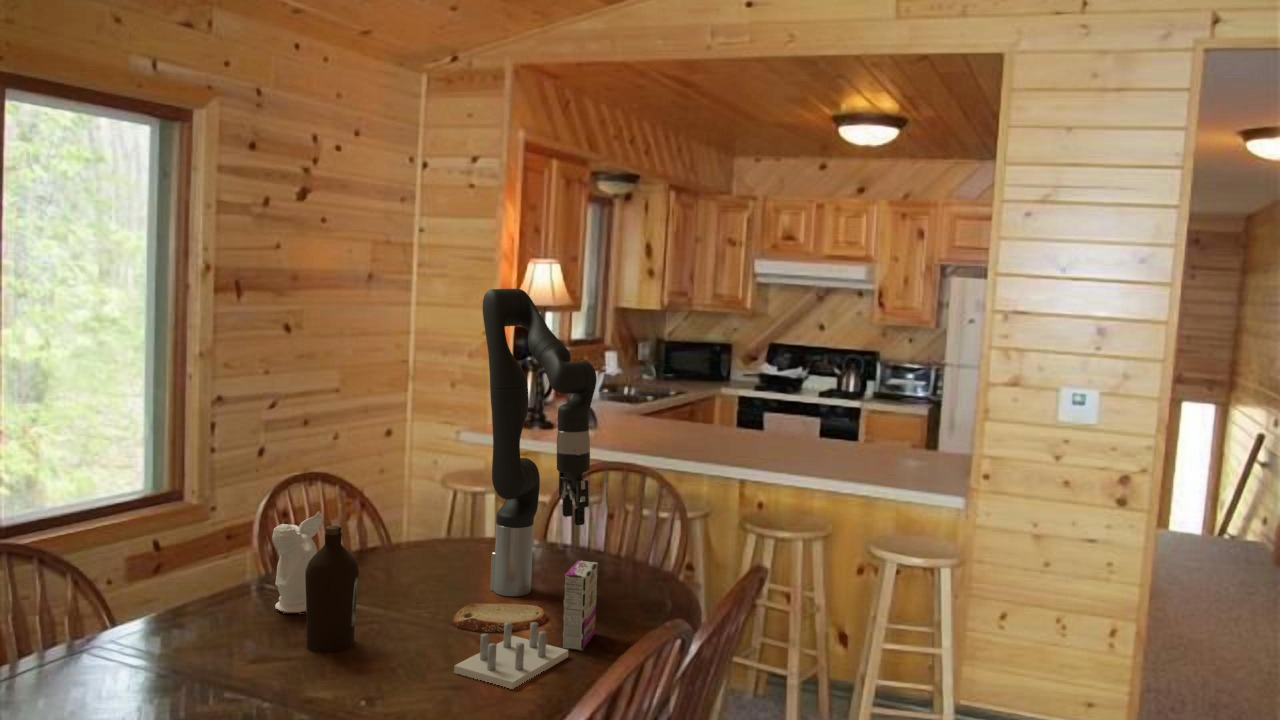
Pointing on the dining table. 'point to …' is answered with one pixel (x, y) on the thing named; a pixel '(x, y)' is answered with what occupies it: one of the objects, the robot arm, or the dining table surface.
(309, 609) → the olive oil
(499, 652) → the pin tray
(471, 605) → the bread slice
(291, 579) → the cherub figurine
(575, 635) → the candy bar box
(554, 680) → the dining table surface
